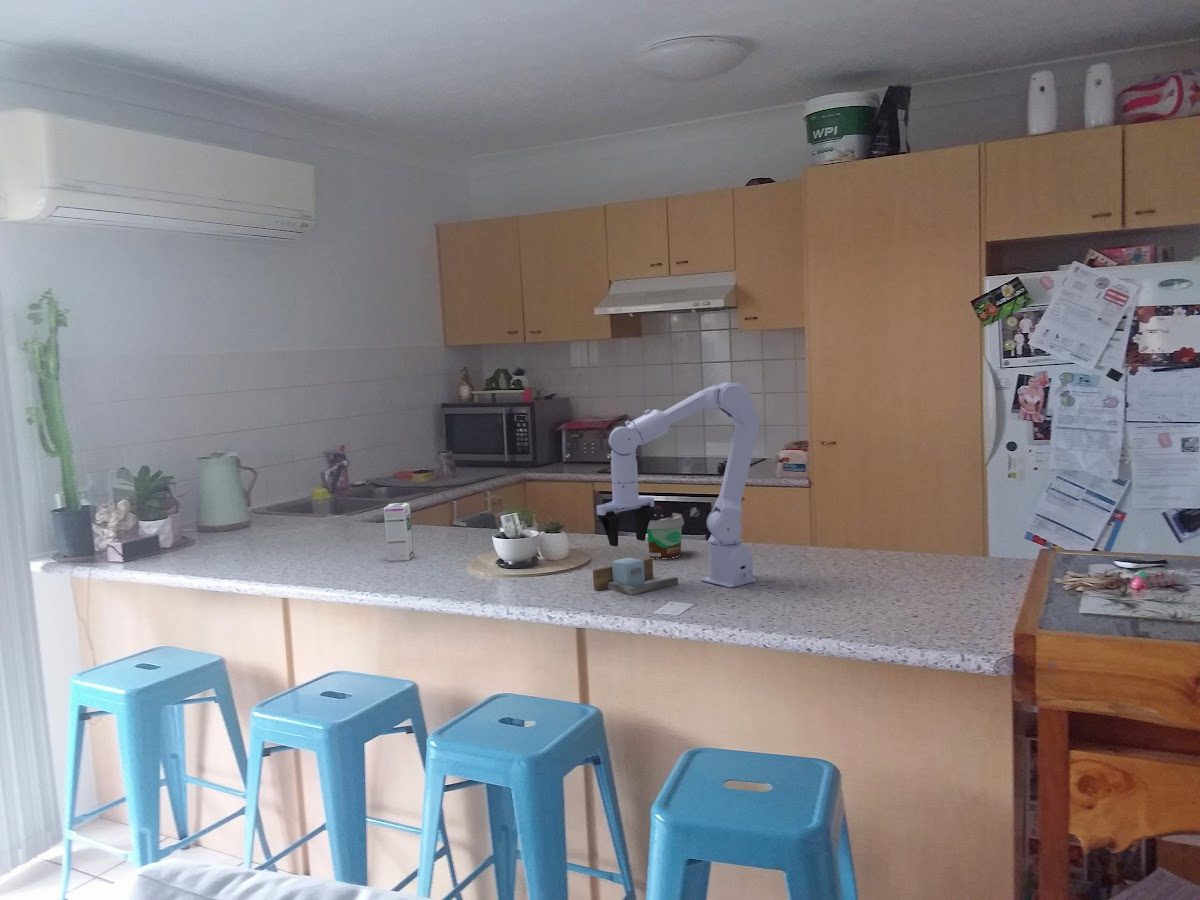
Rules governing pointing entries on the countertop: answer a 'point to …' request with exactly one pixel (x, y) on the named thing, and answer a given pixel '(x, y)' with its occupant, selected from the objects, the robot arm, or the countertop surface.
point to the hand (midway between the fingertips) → (627, 543)
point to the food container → (665, 536)
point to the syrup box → (398, 532)
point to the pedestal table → (605, 580)
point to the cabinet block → (628, 571)
